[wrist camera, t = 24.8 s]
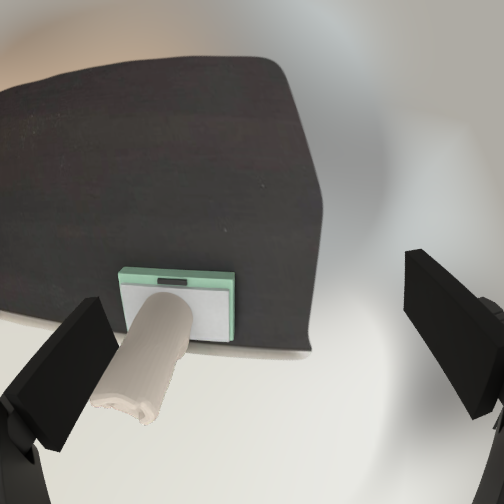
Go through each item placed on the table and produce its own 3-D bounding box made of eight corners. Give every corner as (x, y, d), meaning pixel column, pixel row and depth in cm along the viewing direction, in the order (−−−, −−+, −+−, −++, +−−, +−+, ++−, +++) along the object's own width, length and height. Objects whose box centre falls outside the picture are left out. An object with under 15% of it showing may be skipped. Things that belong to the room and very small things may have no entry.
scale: (234, 271, 44) (232, 282, 41) (234, 331, 47) (232, 344, 44) (124, 266, 44) (115, 275, 41) (132, 323, 47) (125, 334, 44)
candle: (139, 362, 46) (92, 463, 27) (145, 285, 41) (76, 387, 23) (183, 374, 46) (152, 483, 28) (196, 299, 42) (154, 414, 23)
